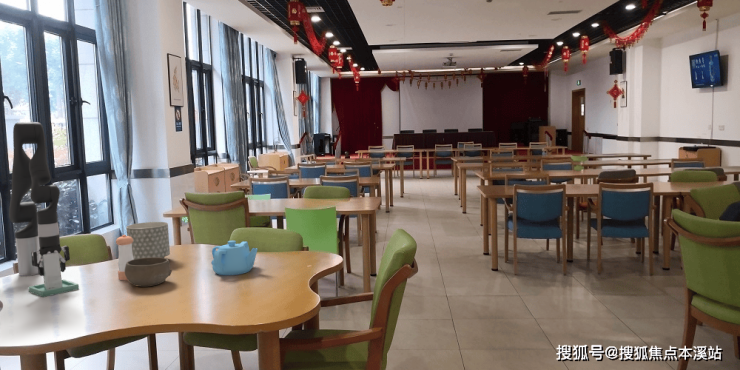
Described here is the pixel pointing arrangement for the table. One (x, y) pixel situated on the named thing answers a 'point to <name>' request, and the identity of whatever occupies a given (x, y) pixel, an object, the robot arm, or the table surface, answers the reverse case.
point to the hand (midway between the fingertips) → (52, 273)
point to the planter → (149, 239)
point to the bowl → (147, 271)
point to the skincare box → (52, 271)
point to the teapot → (233, 258)
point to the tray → (43, 292)
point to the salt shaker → (124, 254)
